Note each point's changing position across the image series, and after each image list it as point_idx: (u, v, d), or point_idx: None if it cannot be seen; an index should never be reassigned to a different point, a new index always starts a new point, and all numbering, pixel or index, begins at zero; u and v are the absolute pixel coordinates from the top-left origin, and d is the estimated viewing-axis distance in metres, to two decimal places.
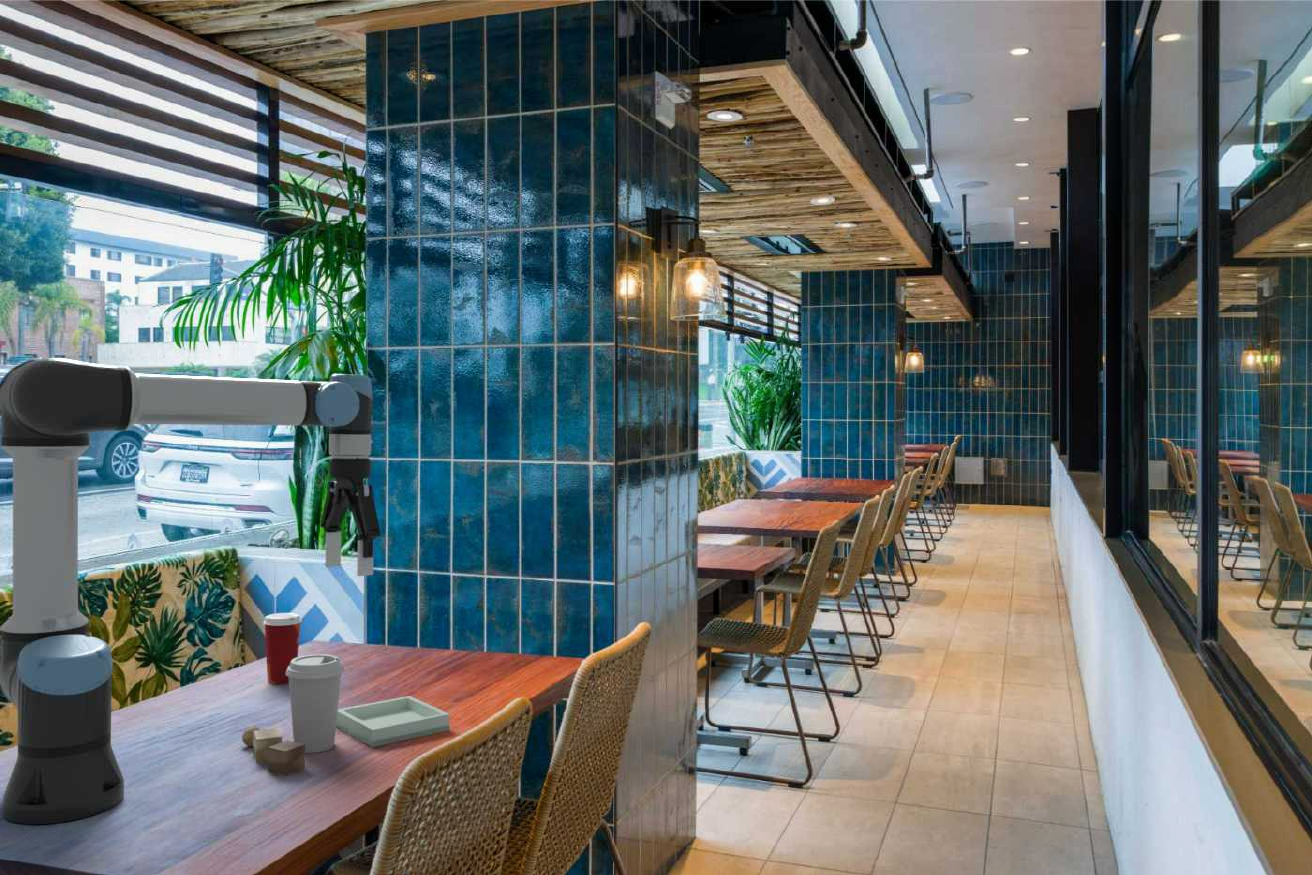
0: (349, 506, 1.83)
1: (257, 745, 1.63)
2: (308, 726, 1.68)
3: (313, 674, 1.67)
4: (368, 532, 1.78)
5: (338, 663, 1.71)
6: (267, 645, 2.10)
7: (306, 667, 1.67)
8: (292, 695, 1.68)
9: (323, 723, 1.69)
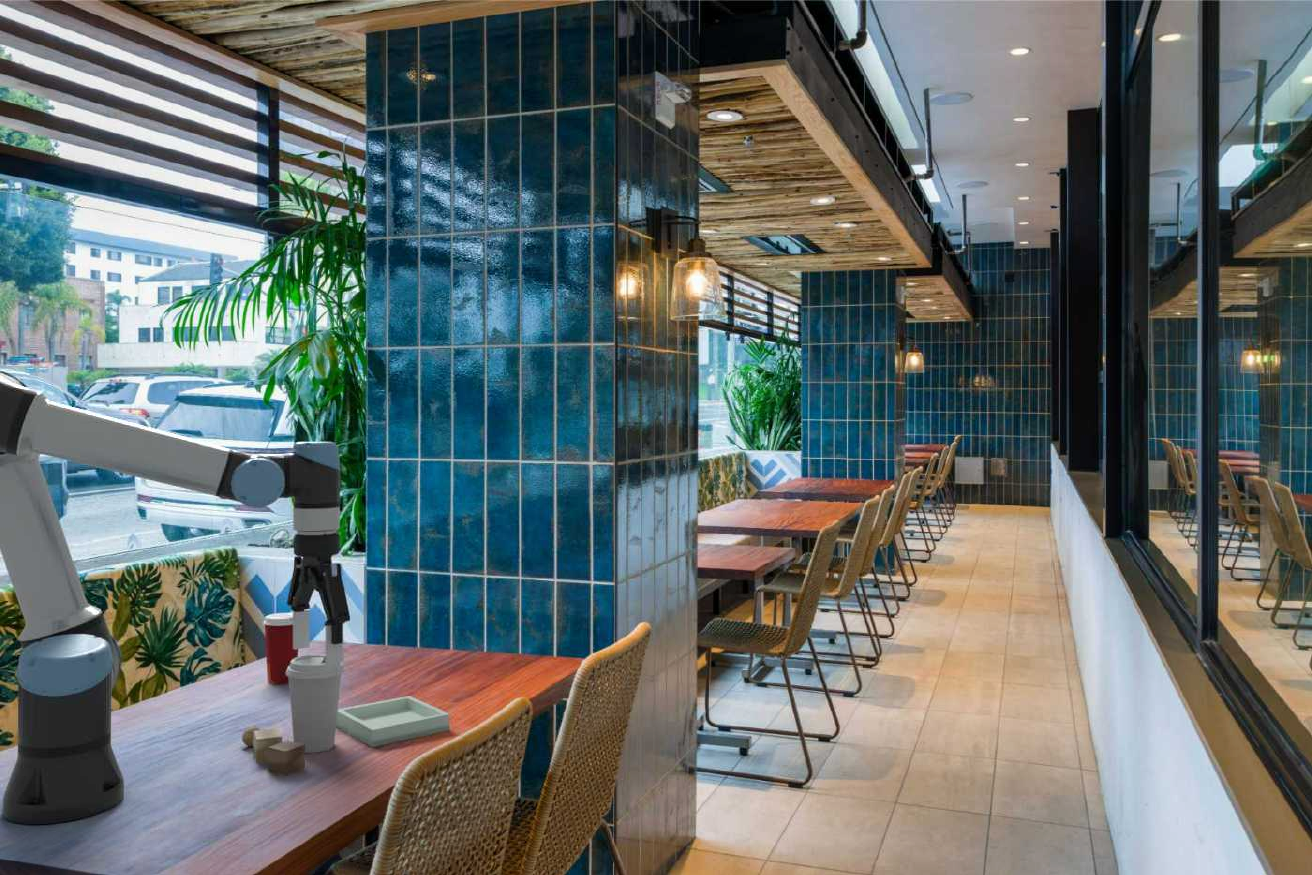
0: (316, 587, 1.67)
1: (257, 745, 1.63)
2: (308, 726, 1.68)
3: (313, 674, 1.67)
4: (336, 617, 1.63)
5: (338, 663, 1.71)
6: (267, 645, 2.10)
7: (306, 667, 1.67)
8: (292, 695, 1.68)
9: (323, 723, 1.69)
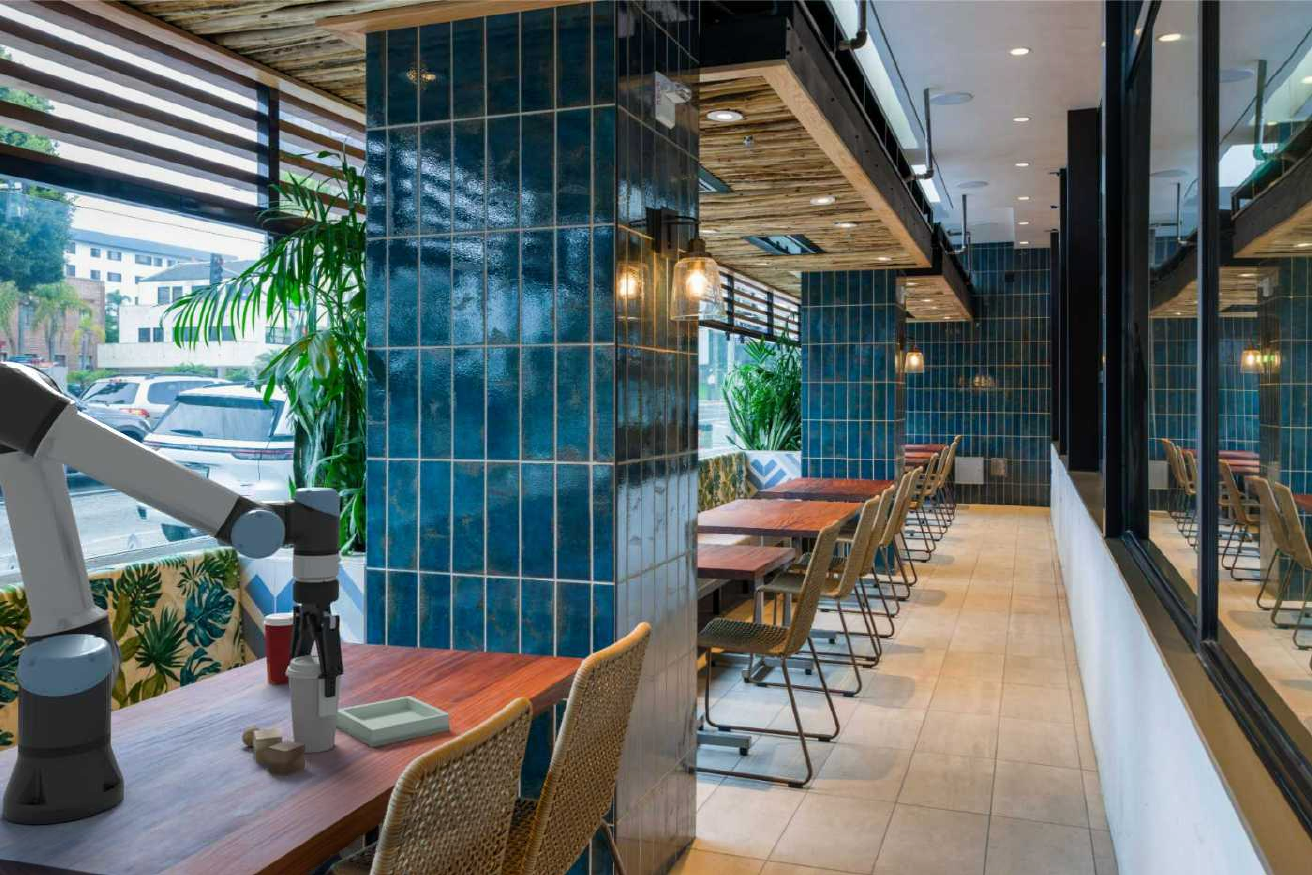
0: (313, 636, 1.68)
1: (257, 745, 1.63)
2: (308, 726, 1.68)
3: (313, 674, 1.67)
4: (330, 672, 1.64)
5: None
6: (267, 645, 2.10)
7: (306, 667, 1.67)
8: (292, 695, 1.68)
9: (323, 723, 1.69)
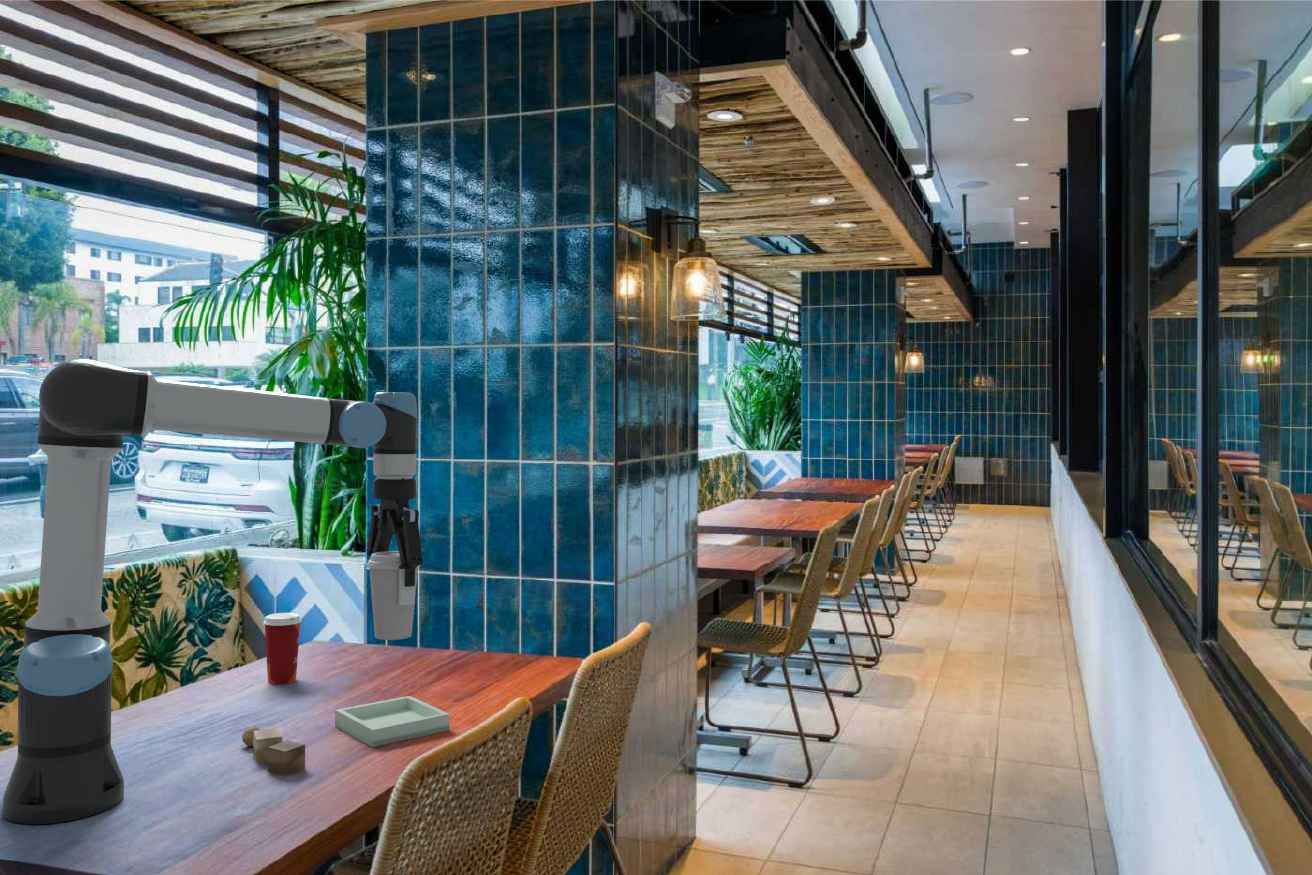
0: (393, 530, 1.78)
1: (257, 745, 1.63)
2: (389, 614, 1.78)
3: (394, 565, 1.77)
4: (410, 561, 1.75)
5: None
6: (267, 645, 2.10)
7: (387, 558, 1.78)
8: (374, 586, 1.79)
9: (403, 612, 1.79)
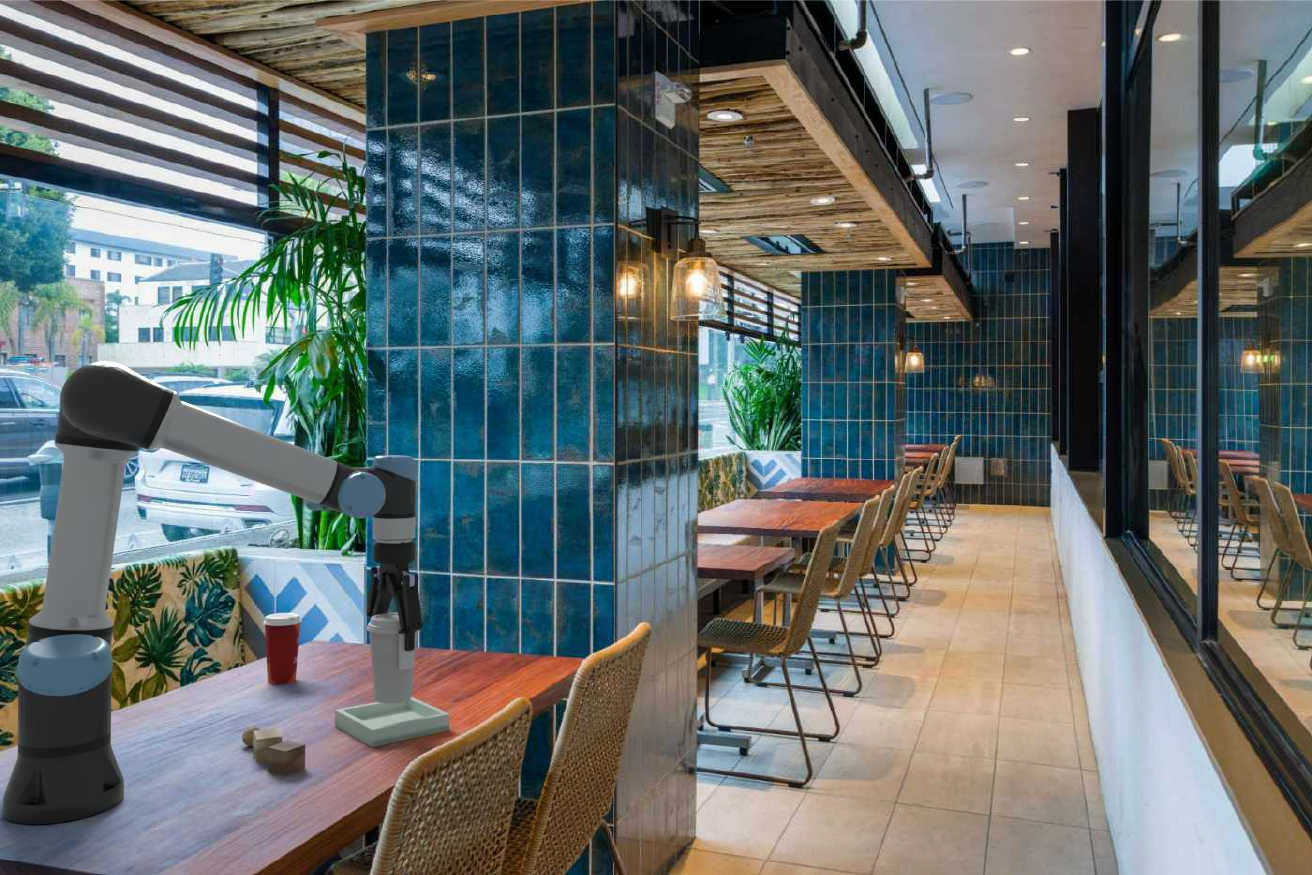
0: (393, 594, 1.78)
1: (257, 745, 1.63)
2: (389, 678, 1.79)
3: (394, 629, 1.78)
4: (410, 627, 1.75)
5: None
6: (267, 645, 2.10)
7: (387, 623, 1.78)
8: (373, 649, 1.79)
9: (403, 675, 1.79)
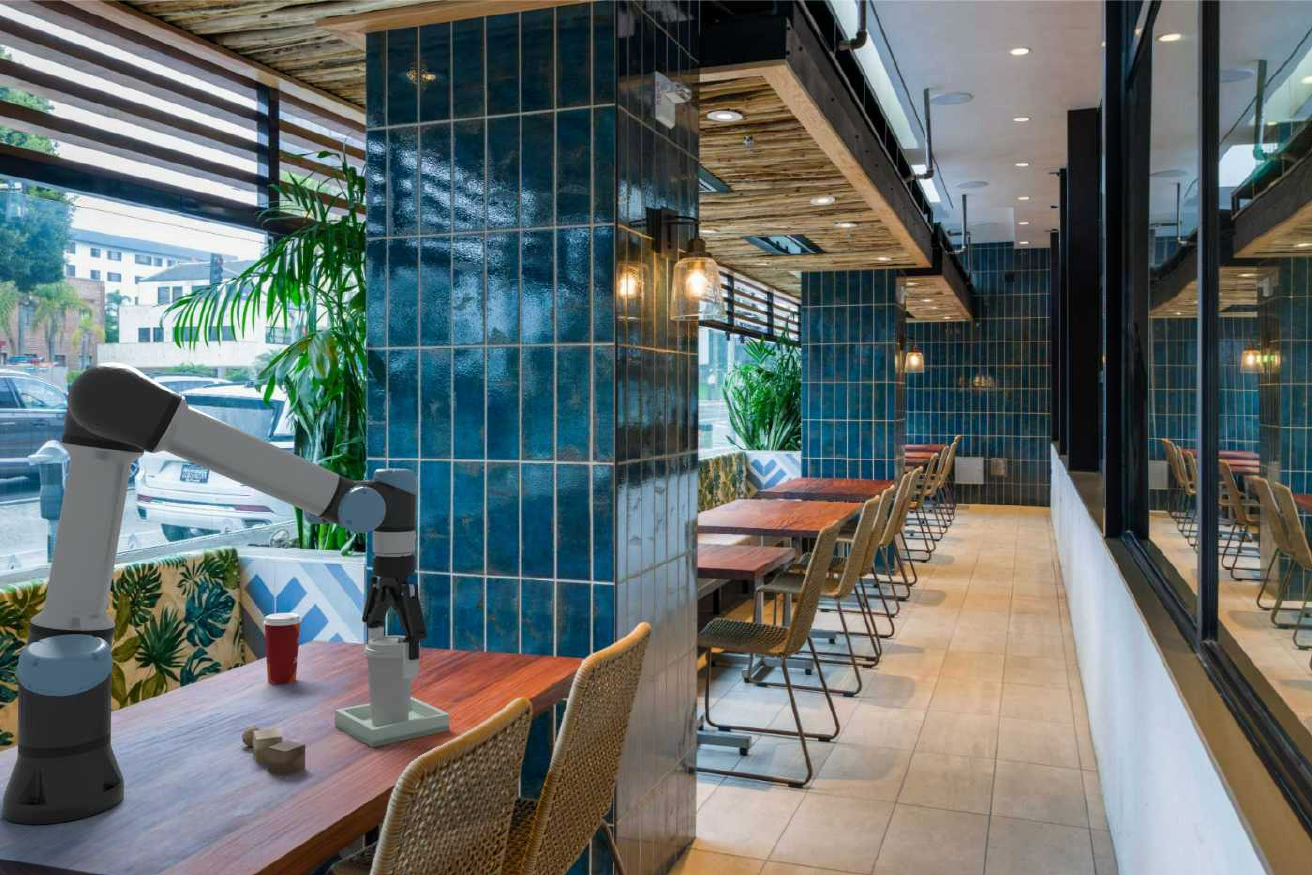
0: (394, 606, 1.78)
1: (257, 745, 1.63)
2: (386, 702, 1.79)
3: (391, 653, 1.78)
4: (414, 635, 1.74)
5: None
6: (267, 645, 2.10)
7: (384, 647, 1.78)
8: (371, 673, 1.80)
9: (400, 699, 1.80)
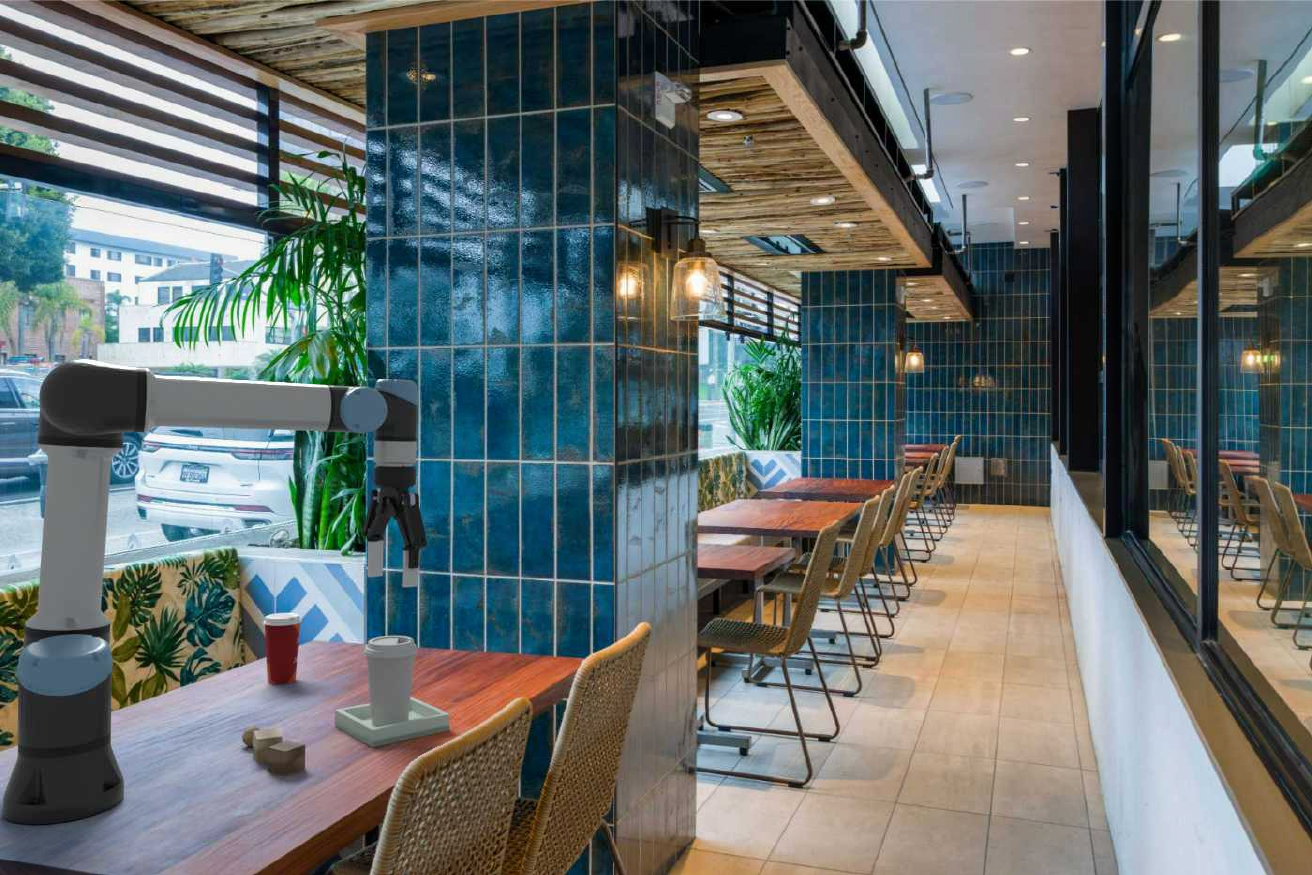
0: (395, 515, 1.78)
1: (257, 745, 1.63)
2: (386, 702, 1.79)
3: (391, 653, 1.78)
4: (415, 542, 1.73)
5: (412, 643, 1.82)
6: (267, 645, 2.10)
7: (384, 647, 1.78)
8: (370, 673, 1.80)
9: (400, 699, 1.80)
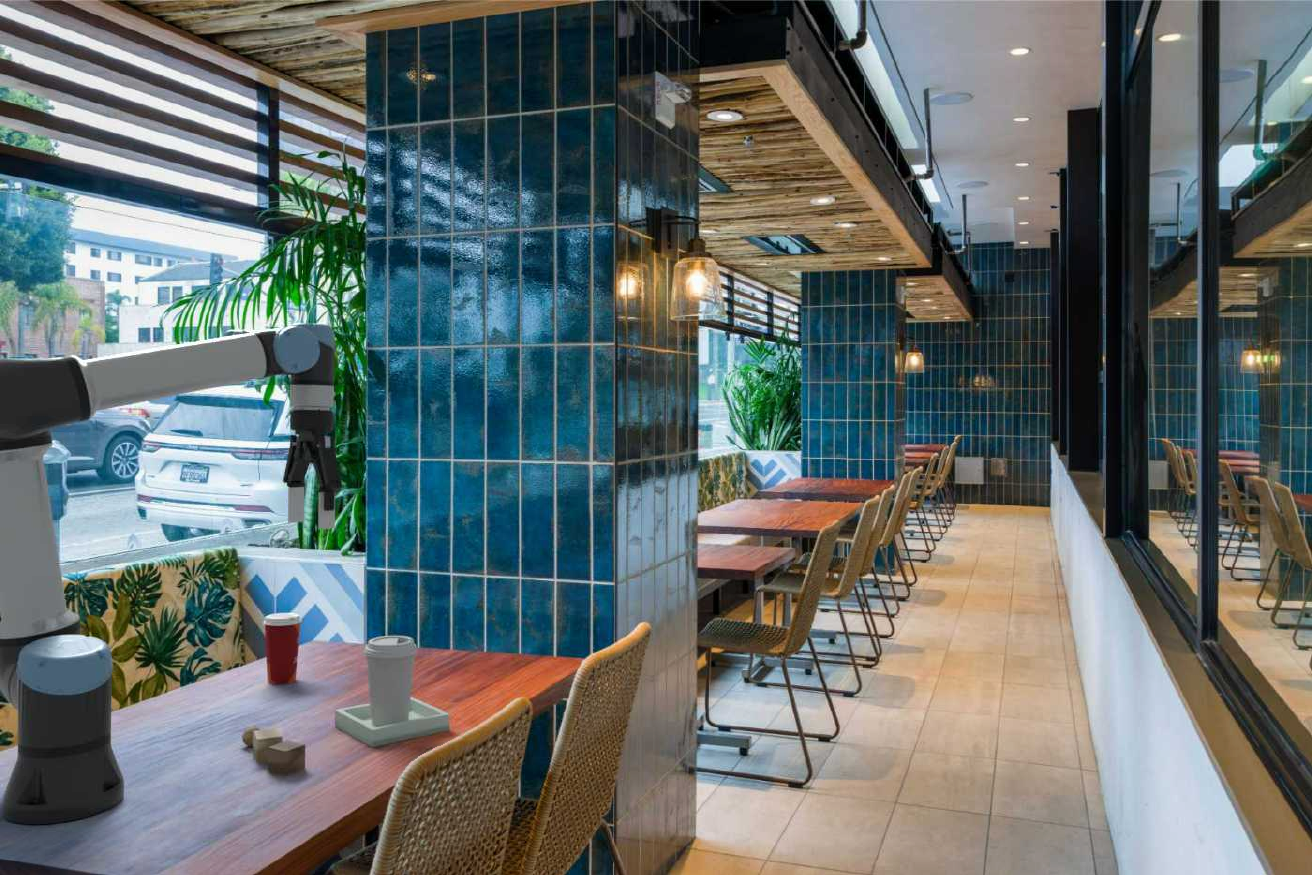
0: (310, 458, 1.78)
1: (257, 745, 1.63)
2: (386, 702, 1.79)
3: (391, 653, 1.78)
4: (329, 484, 1.74)
5: (412, 643, 1.82)
6: (267, 645, 2.10)
7: (384, 647, 1.78)
8: (371, 673, 1.80)
9: (400, 699, 1.80)
